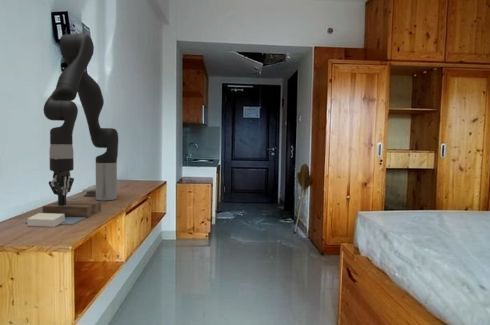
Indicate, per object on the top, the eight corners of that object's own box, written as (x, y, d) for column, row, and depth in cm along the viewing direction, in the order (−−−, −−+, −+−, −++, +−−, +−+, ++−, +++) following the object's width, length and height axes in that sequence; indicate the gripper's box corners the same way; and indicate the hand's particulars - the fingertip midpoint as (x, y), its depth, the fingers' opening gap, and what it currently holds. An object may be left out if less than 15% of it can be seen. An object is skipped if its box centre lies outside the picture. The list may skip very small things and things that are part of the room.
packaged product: (112, 192, 186) (93, 193, 184) (112, 183, 186) (92, 184, 184) (104, 197, 168) (82, 199, 167) (103, 188, 168) (81, 189, 166)
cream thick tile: (27, 218, 112) (27, 225, 112) (53, 219, 112) (54, 226, 112) (38, 212, 118) (39, 219, 118) (64, 213, 117) (65, 220, 118)
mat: (41, 217, 125) (41, 216, 125) (85, 218, 125) (85, 217, 125) (24, 223, 115) (24, 222, 115) (72, 224, 115) (72, 223, 115)
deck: (60, 210, 137) (60, 200, 137) (100, 211, 137) (100, 201, 137) (42, 217, 125) (42, 206, 125) (86, 218, 125) (86, 207, 125)
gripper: (61, 156, 129) (61, 202, 130) (39, 157, 116) (40, 208, 117) (81, 156, 129) (81, 202, 130) (62, 158, 116) (62, 209, 117)
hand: (62, 205), depth 123 cm, fingers closed
